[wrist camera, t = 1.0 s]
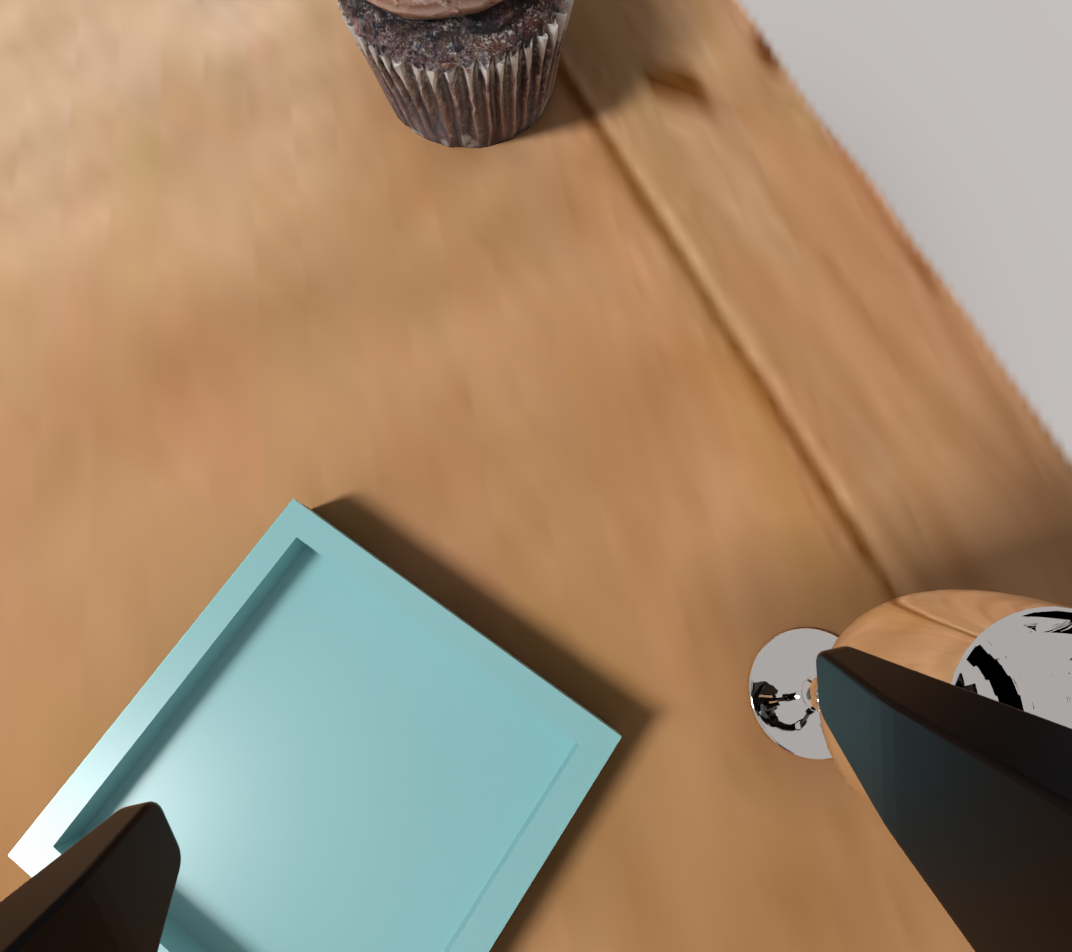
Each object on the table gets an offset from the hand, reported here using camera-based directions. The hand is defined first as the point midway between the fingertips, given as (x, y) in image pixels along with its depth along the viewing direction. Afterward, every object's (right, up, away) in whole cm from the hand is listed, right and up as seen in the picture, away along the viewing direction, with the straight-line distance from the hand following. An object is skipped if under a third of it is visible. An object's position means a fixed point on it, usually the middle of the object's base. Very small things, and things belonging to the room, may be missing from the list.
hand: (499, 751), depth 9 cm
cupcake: (-3, +22, +22) cm, 31 cm away
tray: (-6, -7, +14) cm, 17 cm away
